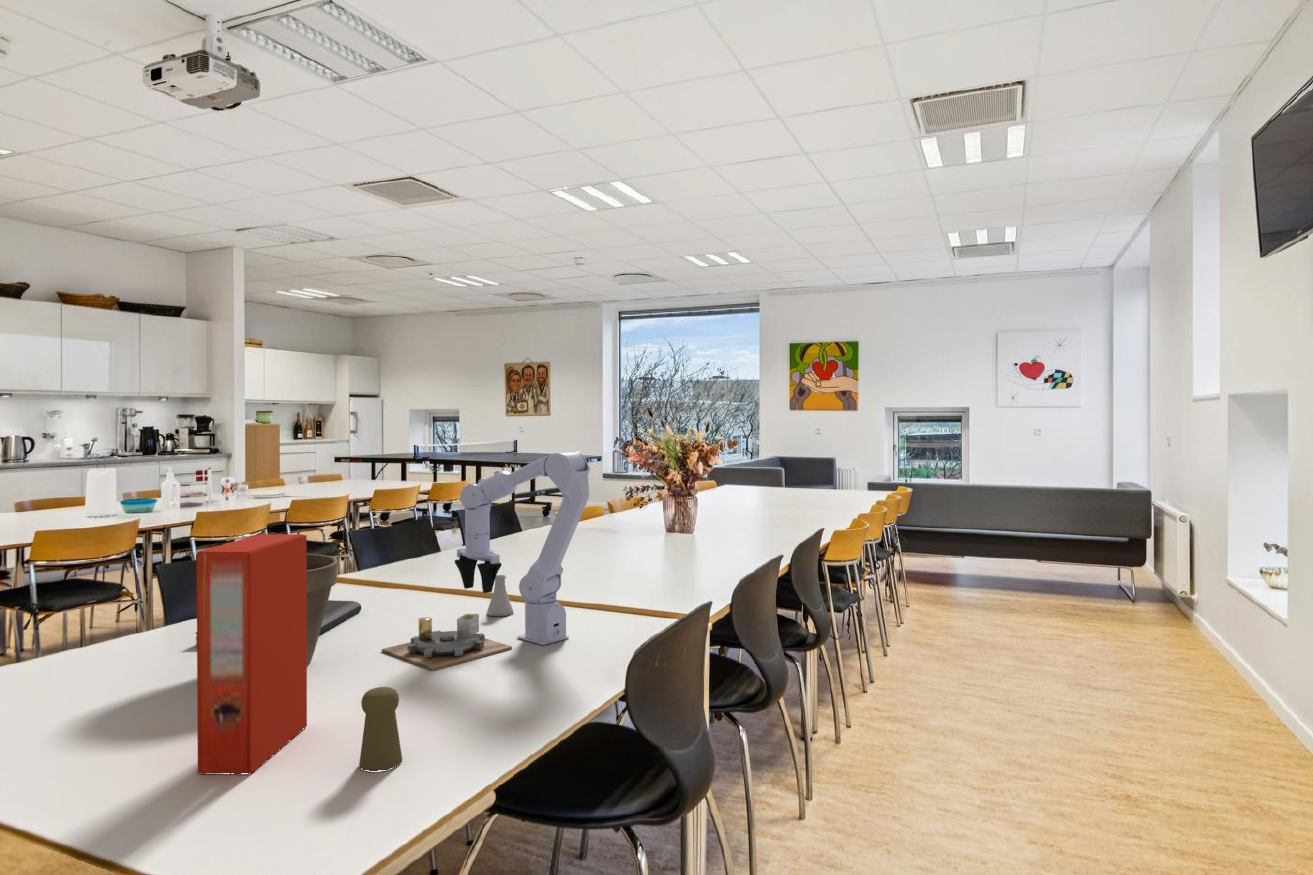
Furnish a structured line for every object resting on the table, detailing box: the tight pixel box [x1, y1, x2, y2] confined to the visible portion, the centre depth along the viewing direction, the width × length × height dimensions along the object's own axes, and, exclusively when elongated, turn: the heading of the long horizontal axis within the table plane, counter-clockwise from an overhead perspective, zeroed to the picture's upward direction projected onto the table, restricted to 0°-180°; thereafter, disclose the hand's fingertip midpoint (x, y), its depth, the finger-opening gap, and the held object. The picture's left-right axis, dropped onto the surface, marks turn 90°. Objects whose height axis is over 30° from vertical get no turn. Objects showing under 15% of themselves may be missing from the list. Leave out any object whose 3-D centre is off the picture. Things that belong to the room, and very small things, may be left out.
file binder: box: [196, 533, 308, 775], centre depth 120 cm, size 8×17×32 cm, turn 179°
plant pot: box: [307, 553, 339, 667], centre depth 161 cm, size 25×25×22 cm
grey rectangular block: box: [456, 613, 480, 637], centre depth 176 cm, size 3×5×4 cm, turn 170°
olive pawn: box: [358, 686, 403, 771], centre depth 115 cm, size 6×6×11 cm
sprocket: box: [408, 616, 486, 658], centre depth 172 cm, size 17×17×6 cm
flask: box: [486, 574, 514, 617], centre depth 205 cm, size 7×7×10 cm
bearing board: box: [381, 637, 513, 671], centre depth 172 cm, size 20×20×1 cm
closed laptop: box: [195, 599, 362, 648], centre depth 191 cm, size 33×4×24 cm
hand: (478, 590), depth 188 cm, fingers open, 7 cm apart
